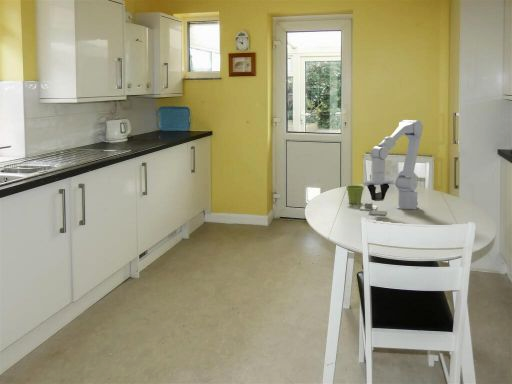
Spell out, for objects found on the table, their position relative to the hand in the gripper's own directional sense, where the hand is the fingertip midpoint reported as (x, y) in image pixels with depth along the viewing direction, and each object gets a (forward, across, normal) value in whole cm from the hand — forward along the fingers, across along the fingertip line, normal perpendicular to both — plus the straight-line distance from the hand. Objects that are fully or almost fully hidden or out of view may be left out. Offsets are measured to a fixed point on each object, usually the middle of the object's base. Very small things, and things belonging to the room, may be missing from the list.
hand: (377, 199), depth 270 cm
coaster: (+7, 0, 0) cm, 7 cm away
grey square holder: (+7, -1, -11) cm, 13 cm away
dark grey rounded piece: (0, 0, 0) cm, 0 cm away
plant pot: (+7, 0, -26) cm, 27 cm away
